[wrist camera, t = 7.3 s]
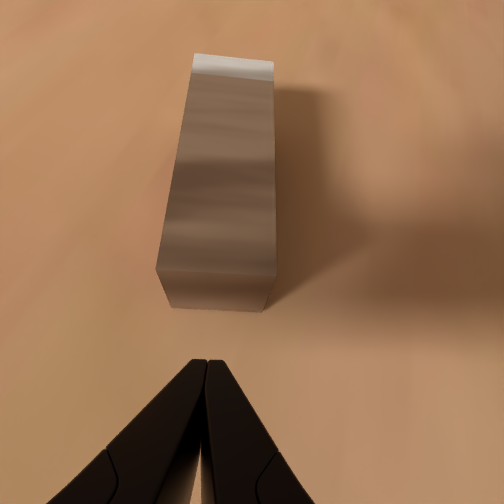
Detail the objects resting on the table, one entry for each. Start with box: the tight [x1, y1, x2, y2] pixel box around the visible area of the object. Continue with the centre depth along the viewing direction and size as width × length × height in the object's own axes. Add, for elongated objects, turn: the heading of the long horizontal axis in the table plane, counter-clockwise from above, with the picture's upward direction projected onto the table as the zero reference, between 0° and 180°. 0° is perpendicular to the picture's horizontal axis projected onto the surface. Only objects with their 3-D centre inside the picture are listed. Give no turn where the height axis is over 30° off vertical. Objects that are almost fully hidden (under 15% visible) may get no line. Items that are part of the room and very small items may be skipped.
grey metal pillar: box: [156, 53, 277, 312], centre depth 19 cm, size 5×5×15 cm
